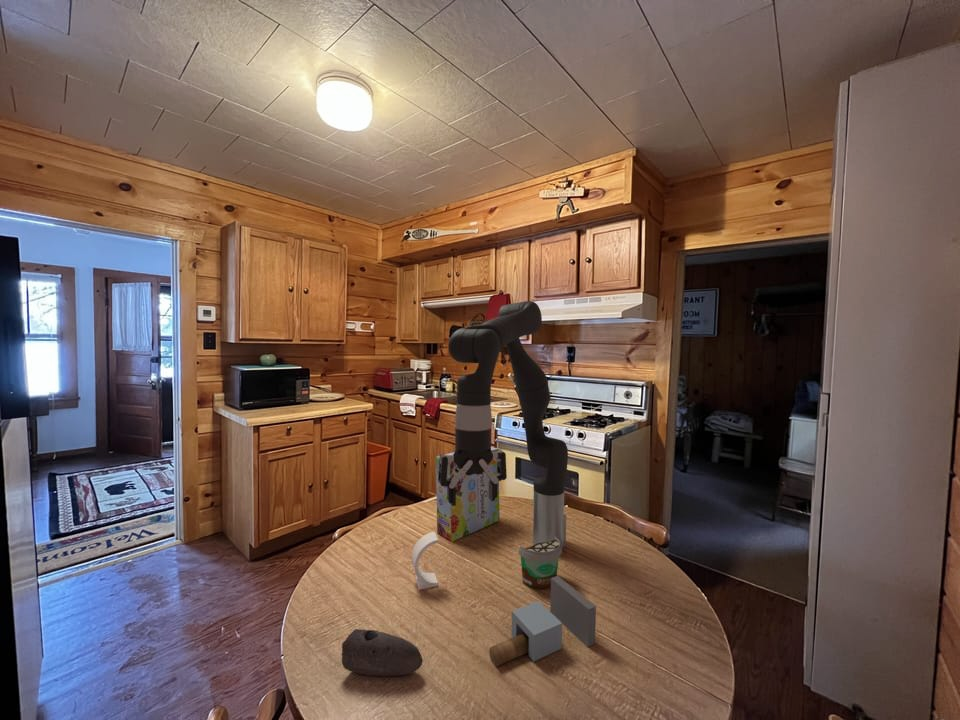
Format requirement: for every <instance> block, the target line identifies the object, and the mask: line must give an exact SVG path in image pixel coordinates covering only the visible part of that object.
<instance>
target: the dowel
mask: <svg viewBox="0 0 960 720" xmlns="http://www.w3.org/2000/svg"><path fill="white" fill-rule="evenodd" d="M488 652H489V659H490V661H491V663H492V664H493V665H494V667H495V668H496V667H499V666H501V665H503V664H505V663H508V662H510V661H512V660H515V659H517V658H519V657H521V656H523V655H526V654H529V637H528V636H527V634H526V633H523V634H520V635H518V636H516V637H511V638H508V639H507V640H504V641H502V642H500V643H496V644H494V645H493V646H492V645H491V646H490V647H489V651H488Z"/></svg>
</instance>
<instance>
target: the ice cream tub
mask: <svg viewBox="0 0 960 720" xmlns="http://www.w3.org/2000/svg"><path fill="white" fill-rule="evenodd" d="M562 552H563V549H561V544H560V541H559V539H558V538H557V537H556V536H555V540H552V541H549V542H543V543H538V544H535V545H533V544H532V545H531V546H529V547H526V548H525V547H523V546H522V545H520V546H519V550H518V555H519V556H520V563H521V578H522V583H523V584H524V586H527V587H529V588H531V589H534V590H541V591H542V590H544V591H545V590H549V589H551V578H553V577H556V576H558V568H559V567H558V566H559V559H560V556H561V555H562Z"/></svg>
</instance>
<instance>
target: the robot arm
mask: <svg viewBox="0 0 960 720" xmlns="http://www.w3.org/2000/svg"><path fill="white" fill-rule="evenodd" d="M542 319H543V318H542V312H541V308H540V307H539V305H538V304H537V303H536V302H534V301H531V300H529V301H528V300H527V301H526V300H525V301H521V302H514V303H508V304H504V305H502V306H500V308H499V309H498V316H496V317H494V318H491V319H489V320H487V321H485V322H483V323H481V324H476V325H471V326H465V327H461V328H459V329H457V330H456V331H454V332H453V333H452V334H451V336H450V338H449V340H448V344H447V345H448V346H447V347H448V349H447V350H448V353H449V355H450V356H451V358H452V359H453V360H454V361H455V362H458V363H462V364H477V368H476V370H475V372H474V373H469V374H464V375H461V376H459V377H458V379H457V380H456V381H457V383H456V409H455V410H456V411H455V415H454V416H455V417H454V418H455V420H454V421H455V422H454V423H455V427H454V429H455V431H454V433H455V434H454V435H455V436H454V454H453V455H445V453H441V454H440V455H439V456H440V459H439V473H438V481H439V483H440V484H441V486H446V487H447V500H448V502H449V503H450V504H451V505H452V506H456V488H455V486H456V484H457V483H458V481H459V480H461V479H462V477H463V476H464V475H465V474H466V475H467V476H468V475H473V474H481V473H483V472H485V473H486V475H487V476H488V477H489V479H490V481H489V499H490V500H491V501H495V498H497V496H498V482H499V483H500V481H505V480H506V479H507V478H508V477H507V476H508V475H507V457H506V455H507V454H506V452H504V451H503V450H502V449H500V448H498V450H497V452H491V447H492V425H493V420H492V418H493V417H492V407H491V406H492V405H491V404H492V402H491V401H492V400H491V395H492V388H491V387H492V381H493V376H494V371H495V368H496V365H497V362H498V358H499V354H500V350H502V348H504V347H506V350H507V353H508V357H509V361H510V365H511V368H512V373H513V378H514V379H513V380H514V383H515V384H514V385H515V388H516V392H517V397H518V401H519V402H518V403H519V404H520V410H521V414H522V421H523V424H524V432H525V438H526V439H525V440H526V449H527V453H528V454H527V455H528V458H529V460H530V462H531V463H532V464H534V465H535V466H537V467H540V468H544V469H546V470H547V471H546V475H543V476H540V477H537V478H535V479H534V480H533V495H532V496H533V497H532V499H533V501H532V502H533V510H532V515H533V517H532V546H533V545H535V544H538V543H543V542H549V541H552V540H555V536H556V537H557V538H558V539H559V541H560V544H561V549H562V550H563V549H564V547H566V546H567V515H566V514H565V486H566V483H567V477H568V476H567V474H568V464H569V463H568V462H569V450H568V445H567V443H566V442H565V441H564V440H561V439H558V438H554V437H551V436H550V437H548V436H547V435H546V433H545V430H544V422H543V420H544V416H545V414H546V412H547V409H548V408H549V404H550V402H551V401H550V400H551V391H550V387H549V383H548V379H547V375H546V373H545V372H544V370H543V369H542V368H541V366H539V364H537V362H536V361H535V360H534V359H533V358H531V356H530V355H529V354H528V353H527V351H526V350H525V348H524V345H522V341H521V340H520V339H521V337H524V336H531V335H534V334H537V333H538V332H539V331H540V329H541V328H542V323H543V322H542V321H543V320H542ZM493 458H494V459H495V461H497V474H494V473H493V471H492V470H491V469H490V468H489V466H488V465H489V463H490V462H491V460H492V459H493ZM452 461H454V462H455V463H456V467H455V468H454V470H453V471H452V474H451V475H450V477H449V478H448V479H447V468H448V466H450V464H451V462H452Z"/></svg>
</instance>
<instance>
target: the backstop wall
mask: <svg viewBox="0 0 960 720" xmlns="http://www.w3.org/2000/svg"><path fill="white" fill-rule="evenodd" d="M549 608H550V610H549V611H550V612H551V613H552V614H553V615H554V616H555V617H556V618H557V619H558V620H559V621H560V622H561V623H562V625H563V626H565V627H566V628H567V629H568V630H569V631H570V632H571V633H572V634H573V635H574V636H575V637H576V638H577V639H578V640H580V642H582V643H583V644H584V646H586V647H587V648H590V647H591V646H594V645H595V644H596V617H597V615H596V614H597V613H596V612H597V607H596V605H595V604H594V603H593V602H591V601H590V600H589V599H587V598H586V597H585V596H584V595H583V594H582V593H580V592H579V591H577V590H576V589H575V588H574V587H573V586H572V585H570V584H569V583H567V582H566V581H565V580H564V579H562V577H560V576H559V575H557V576H556V577H553V578H551V588H550V607H549Z"/></svg>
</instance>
